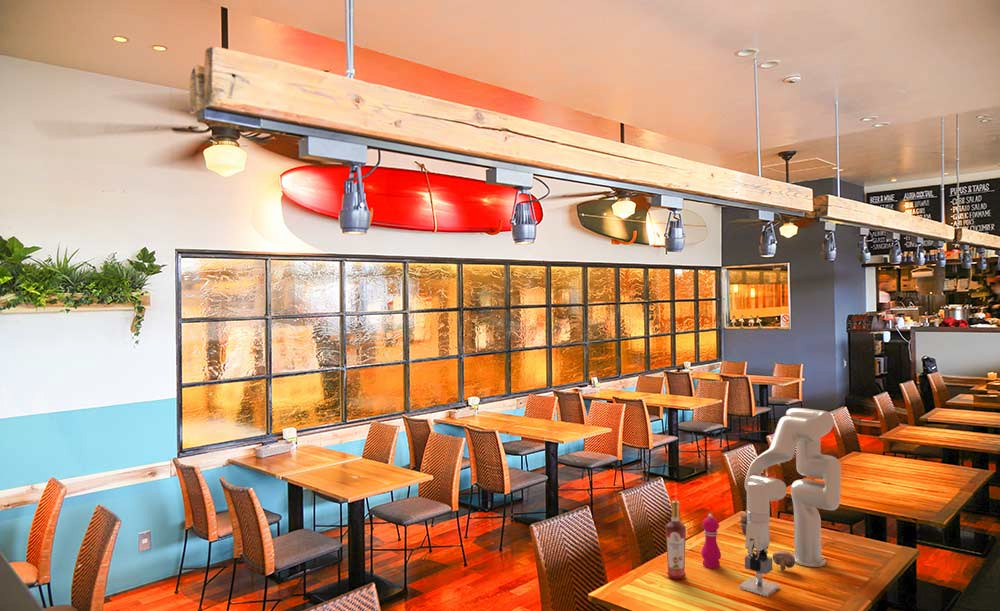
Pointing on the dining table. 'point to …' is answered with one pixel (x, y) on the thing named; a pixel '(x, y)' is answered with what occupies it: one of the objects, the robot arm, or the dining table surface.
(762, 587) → the keeper
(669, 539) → the liquor
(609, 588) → the dining table surface
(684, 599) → the dining table surface
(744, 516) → the cupcake
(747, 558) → the grey rectangular frame
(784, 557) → the mushroom
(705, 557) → the pepper mill
